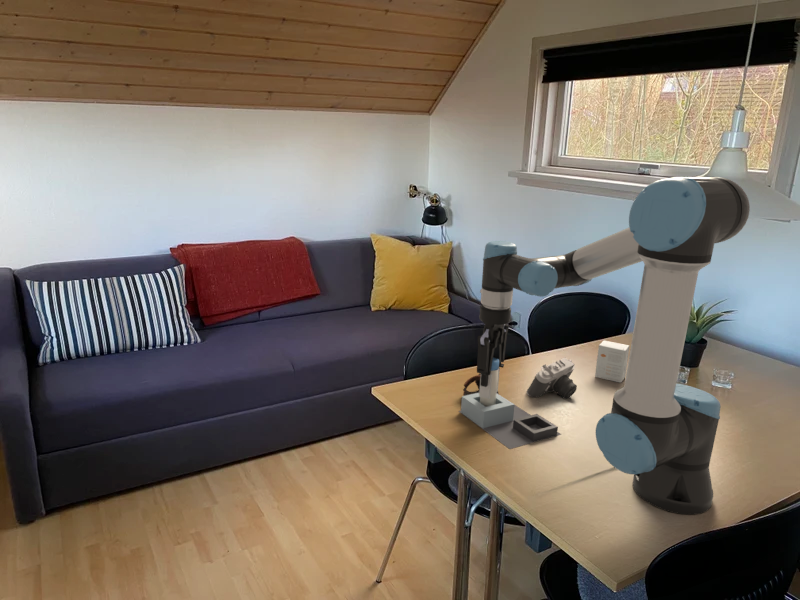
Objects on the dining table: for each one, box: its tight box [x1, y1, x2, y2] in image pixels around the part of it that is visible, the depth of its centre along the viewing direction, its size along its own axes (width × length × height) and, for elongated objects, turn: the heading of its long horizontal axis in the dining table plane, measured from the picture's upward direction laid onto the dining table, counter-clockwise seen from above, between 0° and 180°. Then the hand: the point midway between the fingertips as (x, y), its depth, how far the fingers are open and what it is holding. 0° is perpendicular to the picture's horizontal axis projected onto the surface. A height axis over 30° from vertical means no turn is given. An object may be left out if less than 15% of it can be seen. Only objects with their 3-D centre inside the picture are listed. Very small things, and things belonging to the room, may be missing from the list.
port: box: [460, 393, 516, 429], centre depth 151 cm, size 10×10×4 cm
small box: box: [594, 339, 630, 384], centre depth 180 cm, size 8×6×10 cm
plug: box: [480, 357, 500, 407], centre depth 149 cm, size 4×4×14 cm
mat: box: [458, 404, 562, 450], centre depth 149 cm, size 21×16×1 cm
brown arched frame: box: [462, 373, 500, 396], centre depth 162 cm, size 12×10×8 cm
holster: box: [513, 413, 559, 443], centre depth 144 cm, size 8×8×2 cm
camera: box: [526, 357, 578, 399], centre depth 166 cm, size 9×16×10 cm, turn 133°
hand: (488, 393), depth 150 cm, fingers closed on plug, 4 cm apart
